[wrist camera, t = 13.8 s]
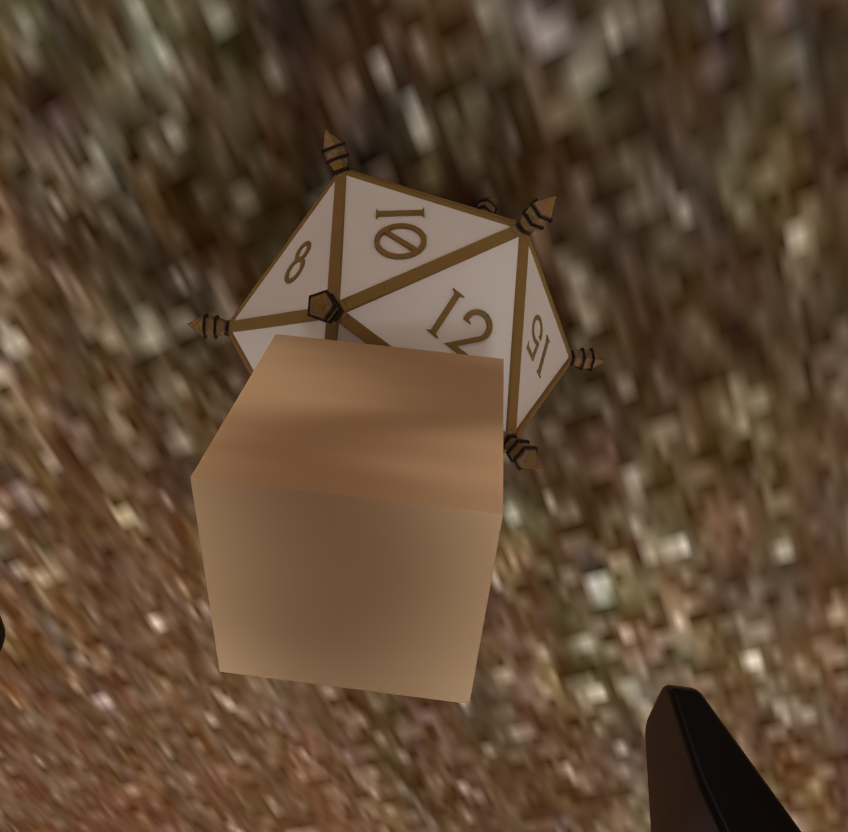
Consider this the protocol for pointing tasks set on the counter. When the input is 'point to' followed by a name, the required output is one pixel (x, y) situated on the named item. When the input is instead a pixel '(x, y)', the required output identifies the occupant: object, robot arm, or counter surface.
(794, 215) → the counter surface
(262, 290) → the game die
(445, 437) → the brown cube
